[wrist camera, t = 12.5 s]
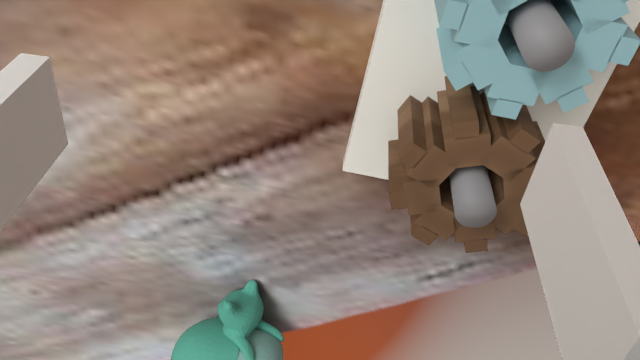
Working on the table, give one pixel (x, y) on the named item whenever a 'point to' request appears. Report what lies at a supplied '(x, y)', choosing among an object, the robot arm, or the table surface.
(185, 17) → the table surface
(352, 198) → the table surface
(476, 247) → the walnut gear
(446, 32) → the teal gear
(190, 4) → the table surface
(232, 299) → the toy
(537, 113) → the gear board
